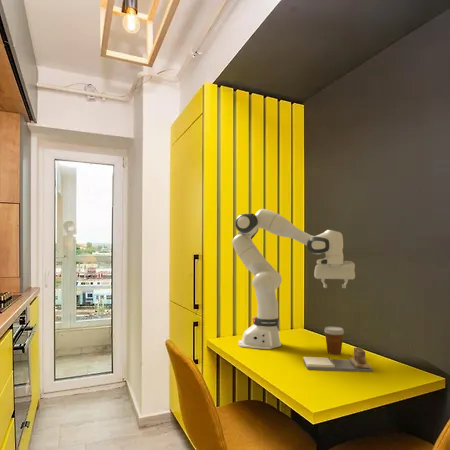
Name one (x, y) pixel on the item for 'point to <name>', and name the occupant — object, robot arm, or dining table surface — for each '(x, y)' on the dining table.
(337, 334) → the disposable coffee cup
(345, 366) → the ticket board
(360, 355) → the stub
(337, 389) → the dining table surface
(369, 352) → the dining table surface
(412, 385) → the dining table surface
